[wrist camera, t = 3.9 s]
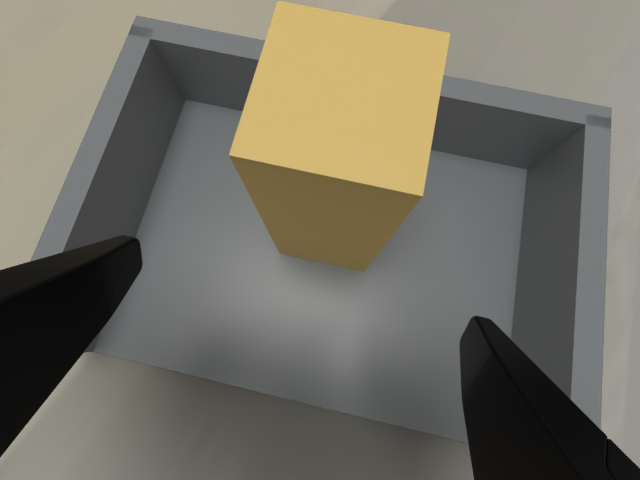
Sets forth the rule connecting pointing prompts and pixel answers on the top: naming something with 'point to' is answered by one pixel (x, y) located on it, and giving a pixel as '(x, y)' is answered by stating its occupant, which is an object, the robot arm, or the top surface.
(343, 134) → the ochre block
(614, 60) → the top surface
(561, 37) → the top surface
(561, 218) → the open box
